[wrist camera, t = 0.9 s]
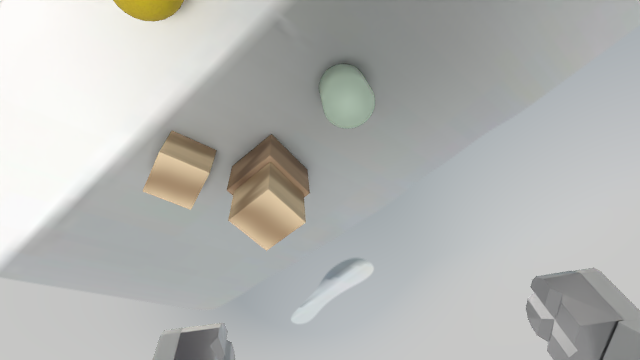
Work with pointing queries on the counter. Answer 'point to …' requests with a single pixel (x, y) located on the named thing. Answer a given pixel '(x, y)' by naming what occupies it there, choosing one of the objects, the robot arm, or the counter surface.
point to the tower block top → (267, 207)
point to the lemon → (149, 8)
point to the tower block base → (261, 157)
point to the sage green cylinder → (346, 96)
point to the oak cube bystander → (180, 170)
